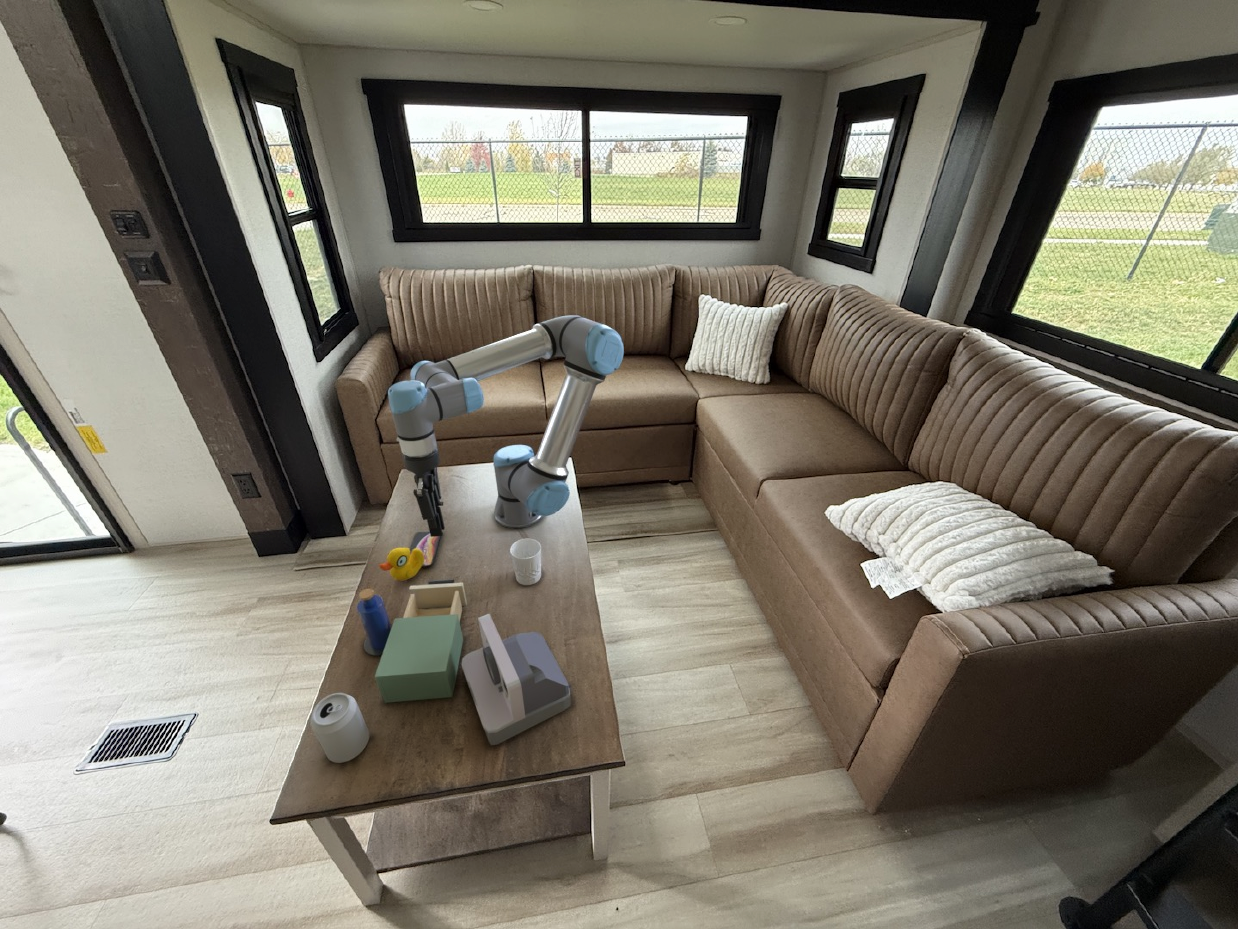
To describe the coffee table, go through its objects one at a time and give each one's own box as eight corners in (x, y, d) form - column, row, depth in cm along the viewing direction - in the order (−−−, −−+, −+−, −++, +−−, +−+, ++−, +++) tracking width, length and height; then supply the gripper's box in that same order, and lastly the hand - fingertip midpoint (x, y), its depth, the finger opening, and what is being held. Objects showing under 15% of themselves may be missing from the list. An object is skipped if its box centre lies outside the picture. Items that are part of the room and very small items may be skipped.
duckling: (394, 594, 127) (384, 567, 121) (382, 584, 130) (372, 557, 124) (431, 568, 135) (424, 541, 129) (419, 559, 137) (411, 532, 132)
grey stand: (462, 662, 110) (451, 615, 103) (552, 636, 117) (549, 590, 109) (474, 753, 94) (462, 706, 86) (579, 717, 100) (577, 670, 92)
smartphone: (441, 530, 147) (431, 565, 135) (442, 532, 148) (432, 567, 135) (415, 531, 146) (403, 567, 134) (416, 534, 147) (403, 569, 134)
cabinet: (402, 644, 114) (394, 618, 110) (463, 639, 116) (457, 614, 111) (384, 703, 102) (374, 677, 97) (452, 697, 103) (445, 671, 99)
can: (336, 727, 97) (318, 690, 91) (376, 724, 98) (360, 687, 92) (320, 767, 91) (299, 730, 85) (362, 764, 92) (345, 726, 85)
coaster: (370, 628, 118) (370, 627, 118) (405, 626, 119) (405, 625, 118) (359, 657, 111) (358, 656, 111) (396, 654, 112) (396, 653, 112)
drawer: (419, 593, 126) (414, 573, 123) (469, 589, 128) (465, 570, 124) (401, 651, 111) (394, 631, 108) (458, 647, 113) (453, 626, 109)
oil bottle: (397, 630, 117) (382, 583, 109) (391, 648, 113) (375, 601, 105) (374, 632, 116) (357, 585, 108) (367, 650, 112) (349, 603, 104)
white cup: (537, 589, 129) (535, 560, 124) (509, 584, 131) (505, 556, 125) (547, 568, 136) (545, 540, 131) (520, 564, 137) (516, 536, 132)
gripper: (410, 434, 116) (428, 514, 129) (393, 468, 104) (415, 553, 116) (443, 433, 117) (458, 513, 130) (430, 467, 105) (448, 551, 117)
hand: (437, 532), depth 123 cm, fingers closed
